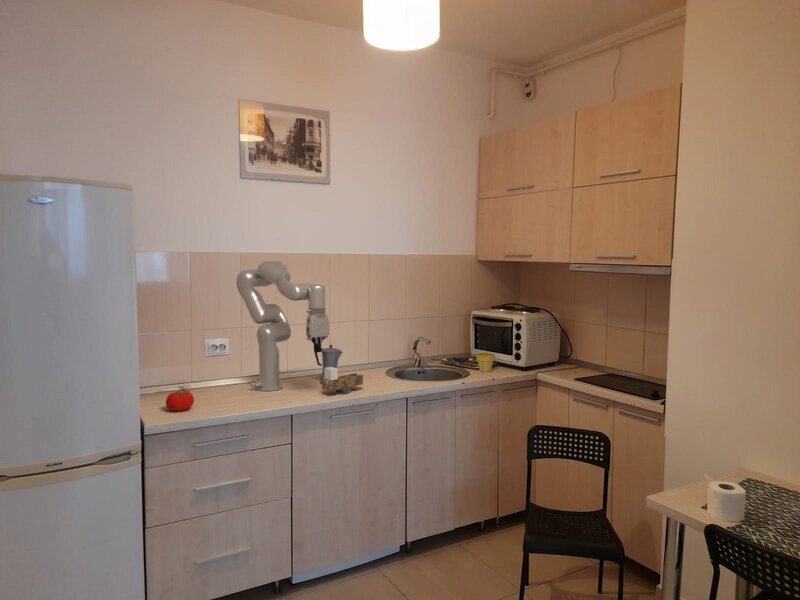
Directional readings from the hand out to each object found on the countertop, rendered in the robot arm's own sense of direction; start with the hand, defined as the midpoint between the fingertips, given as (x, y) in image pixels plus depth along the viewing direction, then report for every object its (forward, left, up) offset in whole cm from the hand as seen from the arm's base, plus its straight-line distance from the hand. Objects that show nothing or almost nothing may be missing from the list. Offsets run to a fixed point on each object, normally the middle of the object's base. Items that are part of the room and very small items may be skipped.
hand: (317, 351), depth 248 cm
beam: (+15, 0, -21) cm, 26 cm away
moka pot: (+21, +20, -22) cm, 36 cm away
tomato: (-54, +22, -22) cm, 62 cm away
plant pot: (+107, -14, -22) cm, 110 cm away
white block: (+8, 0, -16) cm, 18 cm away
